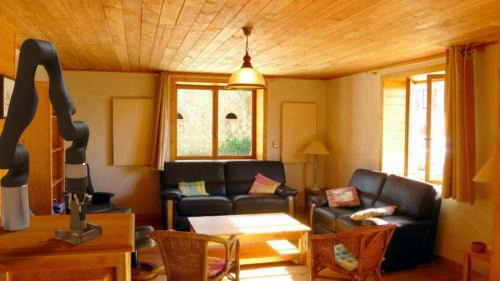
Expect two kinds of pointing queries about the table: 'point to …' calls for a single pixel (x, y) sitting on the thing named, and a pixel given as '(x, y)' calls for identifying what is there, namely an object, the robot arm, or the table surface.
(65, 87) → the robot arm
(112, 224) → the table surface
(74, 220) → the cork
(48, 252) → the table surface
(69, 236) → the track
